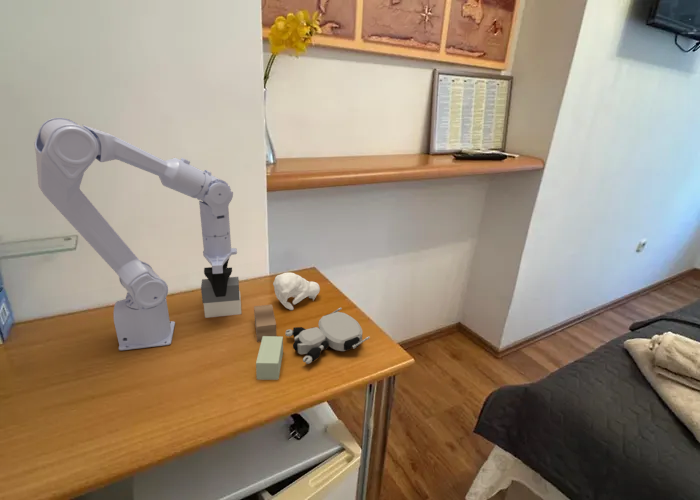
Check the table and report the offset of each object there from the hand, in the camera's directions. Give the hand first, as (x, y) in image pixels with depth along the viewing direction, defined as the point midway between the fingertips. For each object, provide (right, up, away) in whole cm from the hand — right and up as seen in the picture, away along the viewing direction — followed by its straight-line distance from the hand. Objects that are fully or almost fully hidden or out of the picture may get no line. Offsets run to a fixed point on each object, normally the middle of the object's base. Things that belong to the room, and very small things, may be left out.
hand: (220, 287), depth 88 cm
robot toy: (+24, -12, -6) cm, 28 cm away
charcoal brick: (0, -2, +1) cm, 3 cm away
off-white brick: (0, -6, +3) cm, 7 cm away
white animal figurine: (+17, -5, +9) cm, 19 cm away
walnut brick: (+11, -9, -3) cm, 14 cm away
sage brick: (+14, -14, -13) cm, 24 cm away
